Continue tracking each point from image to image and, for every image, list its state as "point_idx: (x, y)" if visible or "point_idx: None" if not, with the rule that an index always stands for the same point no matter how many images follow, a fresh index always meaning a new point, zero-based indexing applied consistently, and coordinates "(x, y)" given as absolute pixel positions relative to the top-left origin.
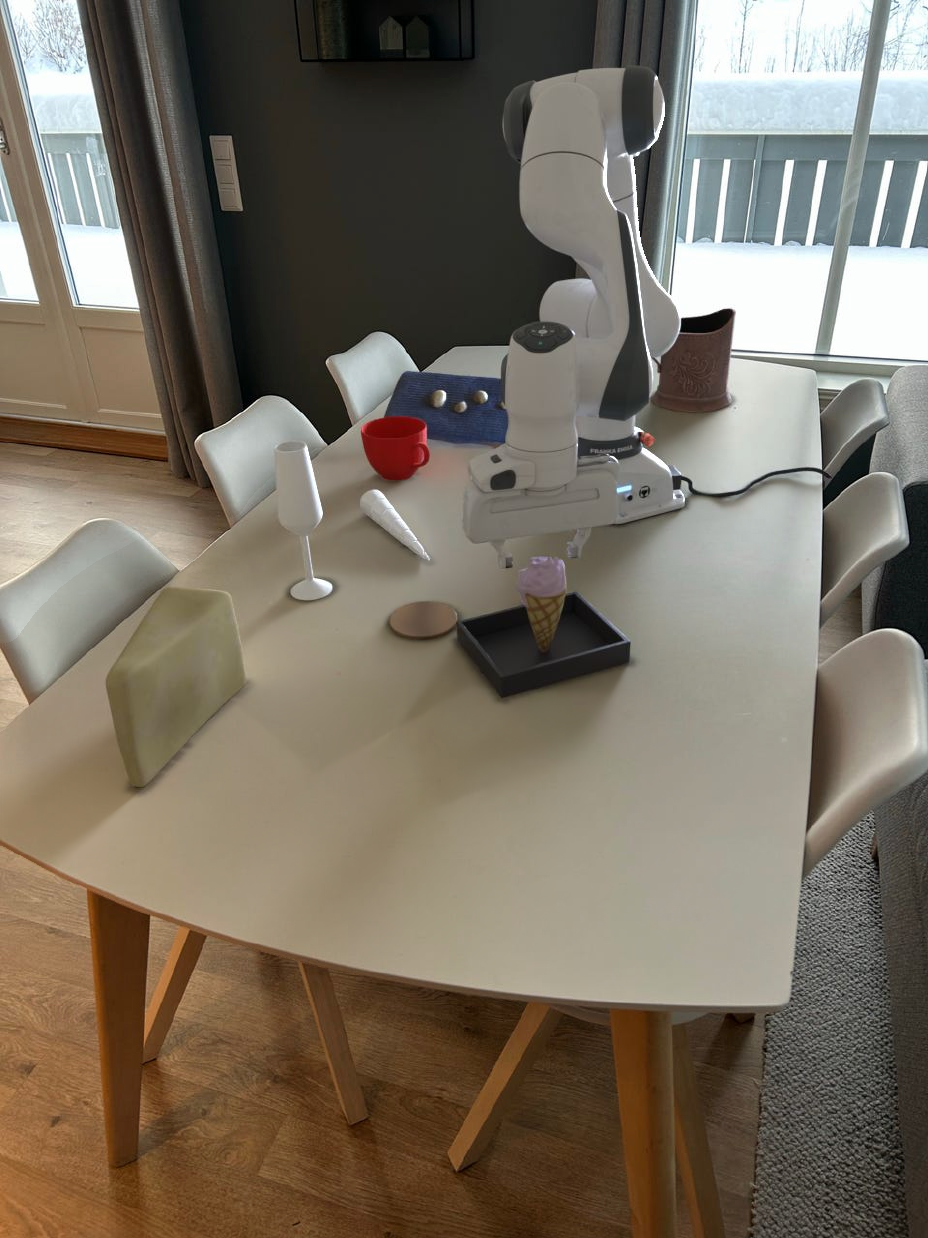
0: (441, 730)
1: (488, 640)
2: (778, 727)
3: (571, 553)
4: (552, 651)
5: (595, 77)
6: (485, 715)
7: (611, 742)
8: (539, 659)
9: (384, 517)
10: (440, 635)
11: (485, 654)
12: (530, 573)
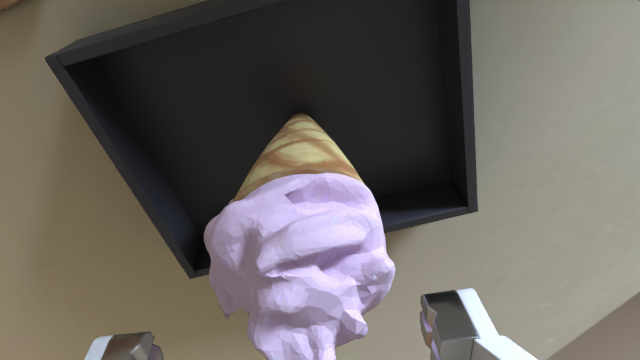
0: (103, 295)
1: (164, 62)
2: (562, 325)
3: (431, 343)
4: None
5: None
6: (172, 275)
7: None
8: None
9: None
10: (17, 3)
11: (152, 213)
12: (248, 303)
